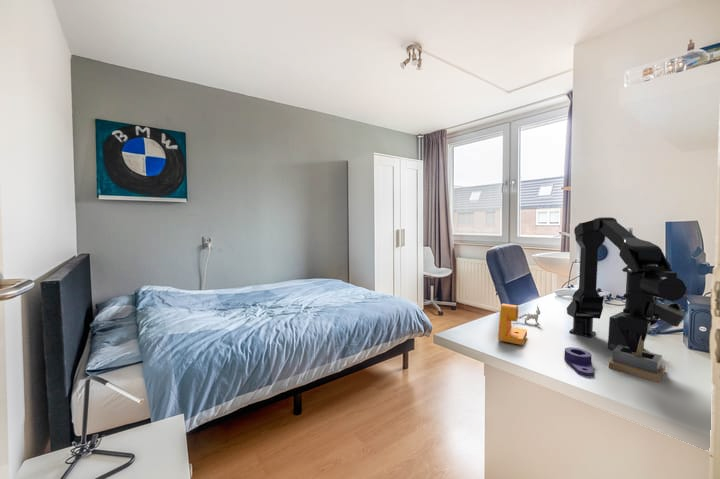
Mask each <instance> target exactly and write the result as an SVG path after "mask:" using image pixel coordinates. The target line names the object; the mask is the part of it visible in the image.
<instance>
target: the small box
mask: <svg viewBox="0 0 720 479" xmlns="http://www.w3.org/2000/svg"><path fill="white" fill-rule="evenodd" d="M622 314H623V311H621V312H619V313H616V314H613V315H611V316H609V322H608V335H607V336H608V339H607V347H606V348H607V350H612V351H613V350H614V349H615V348H616V347H617V346H618V345H622V346H626V347H628V345H627V343H626V341H625V339H624V337H623V335H622V333H621V331H620V330H619V328H618V327H617V326H616V325H615V322H616V318H617V317H618V316H620V315H622ZM624 314H627V313H624ZM644 347H645V343H644V344H643V347H642V350H643V349H644Z"/></svg>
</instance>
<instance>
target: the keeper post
mask: <svg viewBox="0 0 720 479" xmlns="http://www.w3.org/2000/svg"><path fill="white" fill-rule="evenodd" d="M643 344H644V345H645V341H644V342H643V340H641V339H640V343H639V346H638V349H637V352H636V353H634V352H632V354H633V355H637V356H641V357H642V351H643V349H642V347H643ZM608 368H610V369H612V370H617V371H620V372H623V373H627V374H630V375H632V376H633V375H634V376H637V377H640V378H644V379H646V380H651V381H654V382H657V383H659V382H660V381H661V380H662V376H663V375H664V373H665V372H666V365H664V364H662V366H661V368H660V370H659V371H658V373H657V374H656V373H652V372H649V371H645V370H642V369H638V368H635V367H631V366H628V365H624V364H620V363H617V362H613V361H612V358H611V360H610V359H609V361H608ZM664 371H665V372H664Z"/></svg>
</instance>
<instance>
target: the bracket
mask: <svg viewBox="0 0 720 479" xmlns="http://www.w3.org/2000/svg"><path fill="white" fill-rule="evenodd" d="M518 317H519V305H517V304H509V303H501V306H500V313H499V323H498V324H499V325H498V332H497V334H498V335H497V340H498V341H502V342H506V343H511V344H515V345H524V344H525V343H526V341H527V336H528V330H527V329H526V328H521V327H520V328H519V327H515V326H512V322H518V319H519V318H518Z"/></svg>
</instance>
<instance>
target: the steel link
mask: <svg viewBox="0 0 720 479" xmlns="http://www.w3.org/2000/svg"><path fill="white" fill-rule="evenodd" d="M611 359H612V361H613V362H617V363H620V364H624V365H628V366H631V367H635V368H638V369H642V370H645V371H649V372H652V373H656V374H657V373H658V371H659V370H660V368H661V366H662V365H663V362H662V361H663V355H661V354H657V353H653V352H649V351H645V350H642V357H641V356H637V355H633V354H632V352H631V351H630V349H629V347H626V346H622V345H618V346H617V347H616V348H615V349H614V350H612V357H611Z"/></svg>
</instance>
